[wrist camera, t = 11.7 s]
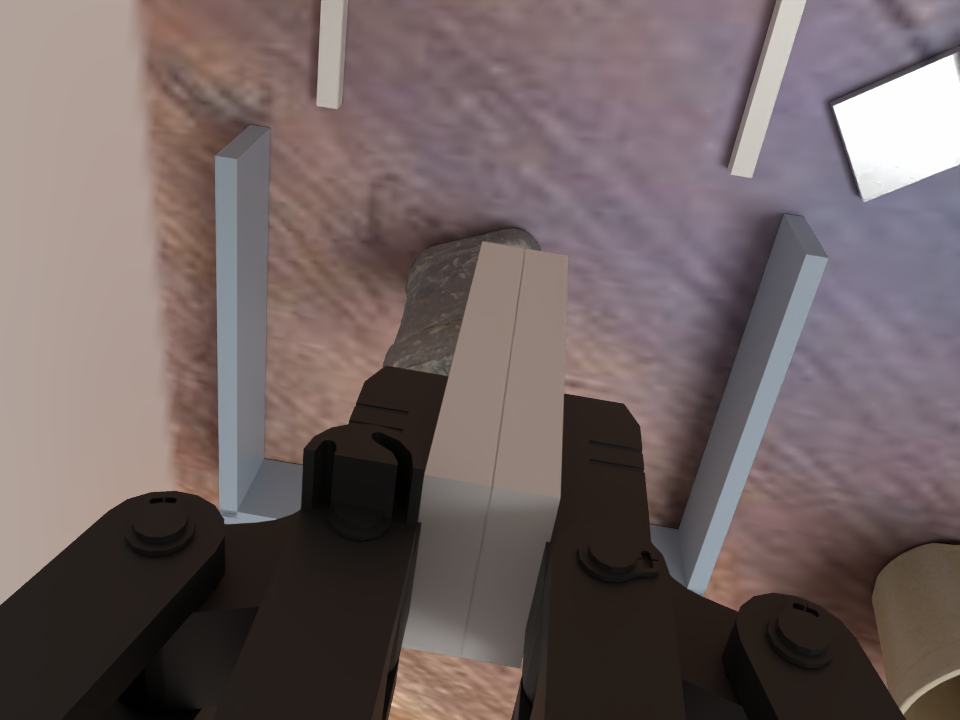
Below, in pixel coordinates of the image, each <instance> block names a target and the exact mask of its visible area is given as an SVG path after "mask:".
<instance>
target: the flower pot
mask: <svg viewBox="0 0 960 720" xmlns="http://www.w3.org/2000/svg"><path fill="white" fill-rule="evenodd" d="M872 604H873V608H874V613H875V618H876V624H877V629H878V635H879V640H880V645H881V651H882V657H883V662H884V668H885V673H886V679H887V685H888V690H889V693H890V694H891V696H892V697H893V699H894V701H895V702H896V704H897V705H898V707H899V709H900V710H901V712H902V713H903V715H904V717H905V718H906V720H960V545H948V544H940V543H930V544H925V545H922V546H919V547H916V548H914V549H911V550H909V551H907V552H905V553H903V554H901V555H899V556H898V557H896V558H895V559H894V560H892V561H891V562H890V563H888V564H887V565H886V566H885V567H884V568H883V569H882V571H881V572H880V573H879V574H878V576H877V579H876V583H875V587H874V591H873V595H872Z"/></svg>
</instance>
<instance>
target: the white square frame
mask: <svg viewBox="0 0 960 720" xmlns="http://www.w3.org/2000/svg"><path fill="white" fill-rule="evenodd" d="M805 3H806V0H776V3H775V7H774V10H773V14H772V17H771V21H770V24H769V27H768V31H767V34H766V38H765V41H764V45H763V48H762V51H761V55H760V58H759V62H758V65H757V69H756V72H755V76H754V79H753V82H752V86H751V89H750V93H749V96H748V100H747V103H746V106H745V110H744V113H743V117H742V120H741V124H740V127H739V130H738V134H737V137H736V141H735V144H734V148H733V151H732V155H731V158H730V161H729V165H728V170H729V172H730V174H731V175H736V176H742V177H748V178H752V176H753V173H754V169H755V166H756V163H757V159H758V156H759V153H760V150H761V146H762V143H763V140H764V137H765V133H766V130H767V127H768V124H769V120H770V117H771V114H772V111H773V107H774V104H775V101H776V98H777V94H778V91H779V88H780V85H781V81H782V78H783V75H784V72H785V68H786V65H787V62H788V59H789V55H790V52H791V49H792V46H793V42H794V39H795V36H796V33H797V29H798V26H799V23H800V20H801V16H802V13H803V10H804V7H805ZM347 14H348V0H321V16H320V38H319V60H318V82H317V104H316V106H321V107H327V108H333V109H338V108H339V107H340V106H341V104H342V97H343V81H344V64H345V47H346V30H347Z"/></svg>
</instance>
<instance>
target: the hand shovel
mask: <svg viewBox="0 0 960 720" xmlns="http://www.w3.org/2000/svg"><path fill="white" fill-rule="evenodd" d="M829 103H830V106H831V109H832V112H833V116H834V119H835V122H836V125H837V128H838V131H839V134H840V137H841V141H842V144H843V147H844V150H845V153H846V156H847V159H848V162H849V165H850V169H851V172H852V175H853V178H854V181H855V184H856V187H857V190H858V194H859V197H860V198H861V199H862V201H863V202H866V201H868V200H871V199H873V198H876V197H878V196H881V195H883V194H886V193H888V192H891V191H894V190H896V189H899V188H901V187H904V186H906V185H909V184H911V183H914V182H916V181H919V180H921V179H924V178H926V177H929V176H931V175H934V174H936V173H939V172H941V171H944V170H946V169H949V168H951V167H954V166H956V165H959V164H960V45H959V46H957V47H954V48H952V49H950V50H947V51H945V52H943V53H941V54H938V55H936V56H934V57H931V58H929V59H927V60H925V61H922V62H920V63H918V64H915V65H913V66H911V67H908V68H906V69H904V70H902V71H899V72H897V73H895V74H892V75H890V76H888V77H885V78H883V79H881V80H879V81H876V82H874V83H872V84H869V85H867V86H865V87H863V88H860V89H858V90H856V91H853V92H851V93H849V94H846V95H844V96H842V97H840V98H837V99H835V100H833V101H830V102H829Z"/></svg>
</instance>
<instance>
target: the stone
mask: <svg viewBox="0 0 960 720" xmlns="http://www.w3.org/2000/svg"><path fill="white" fill-rule="evenodd" d="M482 241H484V242H490V243H496V244H501V245H507V246H513V247H519V248H525V249H531V250H537V251H541V249H540V245H538V242H537V241H536V240H535V239H534V238H533V237H532V236H531V235H530V234H529V233H527V232H525V231H523V230H520V229H514V228H510V229H503V230H499V231H494V232H490V233H486V234H482V235H476V236H473V237H468V238H464V239H461V240H456V241H451V242H448V243H445V244H439V245H435V246H432V247H430V248H427V249H426V250H424V251H422V252H421V253H420V255H419V256H418V257H417V259H416V261H415V263H414V264H413V266H412V268H411V270H410V272H409V275H408V277H407V281H406V289H405V290H406V294H407V302H406V305H405V310H404V314H403V317H402V320H401V325H400V328H399V331H398V334H397V337H396V339H395V342H394V344H393V345H392V346H391V347H390V348H389V350H388V352H387V354H386V357H385V360H384V363H383V368H384V367H385V366H392V367H398V368H404V369H410V370H415V371H421V372H427V373H433V374H439V375H444V376H449V373H450V369H451V365H452V361H453V357H454V353H455V349H456V345H457V341H458V337H459V333H460V329H461V325H462V321H463V317H464V313H465V309H466V305H467V301H468V297H469V293H470V289H471V285H472V281H473V277H474V273H475V269H476V265H477V261H478V257H479V253H480V249H481V245H482Z"/></svg>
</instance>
